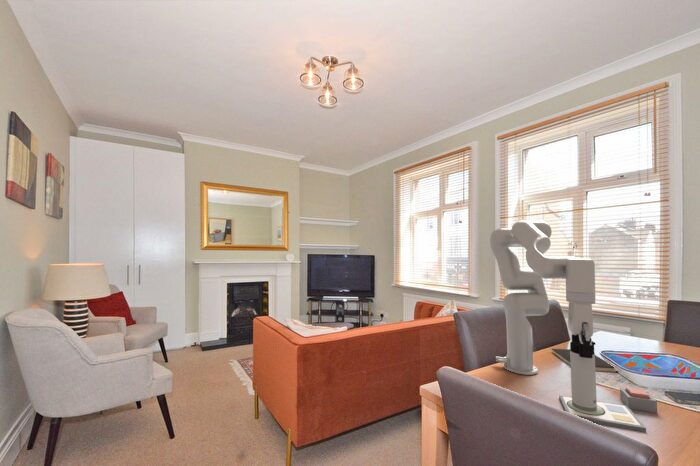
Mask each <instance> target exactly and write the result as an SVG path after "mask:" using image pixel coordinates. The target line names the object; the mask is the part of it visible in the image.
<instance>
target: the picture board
mask: <svg viewBox="0 0 700 466" xmlns="http://www.w3.org/2000/svg"><path fill="white" fill-rule="evenodd" d="M558 397H559V401H560V403H561V405H562V408H563V410H564V412H565V411H566V412H569V413H571V414H574V415H577V416H579V417H581V418H584V419H587V420H589V421H592V422H594V424H599V425H604V426H611V427H617V428H622V429H628V430H634V431H639V432H644V433H646V432H647V428H646V426H645V425H644V424H643V423H642V422H641V421H640V419H639V418H638V417H637V416H636V414H634V412H633V411H632V409H629V407H628V406H627V405H625V404H619V403H613V402H605V401H599V400H597V410H595V411H585V410H581V409H578V408H576V407H575V406H574V405H573V404H572V396H566V395H559V396H558ZM566 412H565V413H566ZM592 422H591V423H592Z"/></svg>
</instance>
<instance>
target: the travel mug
mask: <svg viewBox="0 0 700 466" xmlns="http://www.w3.org/2000/svg"><path fill="white" fill-rule="evenodd" d="M579 343H580V340H576V341H572V340H571V341H570V343H569V347H570V348H569V349H570V362H571V366H570V383H571V388H570V390H571V397H572V404H573V405H574V406H575V407H576V408H578V409H581V410H585V411H595V410H597V401H598V399H597V398H598V397H597V380H596V379H597V377H596V376H597V375H596V374H597V373H596V371H595V355H596V353H595V346H596V342H595V341H593V340H592V358H584V357H580V356H579Z"/></svg>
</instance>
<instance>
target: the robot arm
mask: <svg viewBox="0 0 700 466" xmlns="http://www.w3.org/2000/svg"><path fill="white" fill-rule="evenodd" d="M552 233H553V232H552V227H551V226H550V224H549V223H548V222H546V221H544V220H519V221H517V222H515V223H513V225H512V226H511V227H501V228H497V229H495V230H493V231H492V232H491V234H490V237H489V238H490V239H489V245H490V249H491V252H492V253H493V254H492V255H493V256H494V257H495V259H496V262H497V267H498V271H499V276H500V278H501V283H502V286H503V288H504V289H506V290H509V291H527V292H511V293H508V294H506V295H505V296H504V297H503V300H502V304H503V308H504V309H503V310H504V315H505V322H506V324H505V325H506V349H507V350H506V352H507V353H506V356H495V361H496V362H498V363H501V364H502V363H503V368H504V367H505V368H504V369H505V370H506V369H507V370H506V371H508V370H509V371H508V372H510V371H511V373H513V372H514V373H513V374H518V375H524V376H525V375H526V376H531V375H536V374H538V372H539V369H538V367H537V366H535V365H534V347H533V346H534V344H533V343H534V342H533V327H532V325H531V322H530V321H529V320H528V319H527V317H533V316H535V317H536V316H545V315H547V314H548V313H549V312H550V311H549V310H550V300H549V298H548V294H547V289H546V287H545V284H544V280H543V279H551V280H553V279H562V280H563V279H565V296H566V298H565V300H566V301H565V302H567V303H568V308H567V309H568V311H567V313H568V315H567V317H568V318H567V320H568V321H567V327H568V328H567V329H568V330H569V332H571V341H576V340H580V343H579V356H580V357H584V358H592V341H593V339H592V337H593V335H594V319H593V317H594V316H593V314H594V313H593V305H595V304H596V302H597V301H596V268H595V266H596V265H595V261H594V260H593V259H592V258H587V257H576V256H569V255H567V256H566V255H564V256H562V255H560V256H559V255H558V256H557V255H556V256H555V255H553V256H548V255H547V256H545V255H544V254H545V253H546V252H547V251H549V249H550V247H551V243H552V242H551V240H550V238H551V236H552ZM510 248H524V249H526V251H525V260H526V264H527V265H528V267H523V268H522V266H521V264H520V262H519V259H518V258H519V257H518V256H517V255H516V254H515V253H514V251H513V250H511V249H510Z"/></svg>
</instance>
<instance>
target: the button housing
mask: <svg viewBox="0 0 700 466" xmlns="http://www.w3.org/2000/svg"><path fill="white" fill-rule="evenodd" d="M645 392H646V393H647V394H648V395H649V399H646V398H639V397H632V396H630V395H629V394H628V393H627V392H626V388H621V387H620V388H619V395H620V396H619V400H621V401H622V403H623V405H627V406H628V407H629V409H630V410H636V411H644V412H650V413H658V401H657V400H656V399H655V398H654V396H652V395H651V394H650V393H649V392H648V391H645Z"/></svg>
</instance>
